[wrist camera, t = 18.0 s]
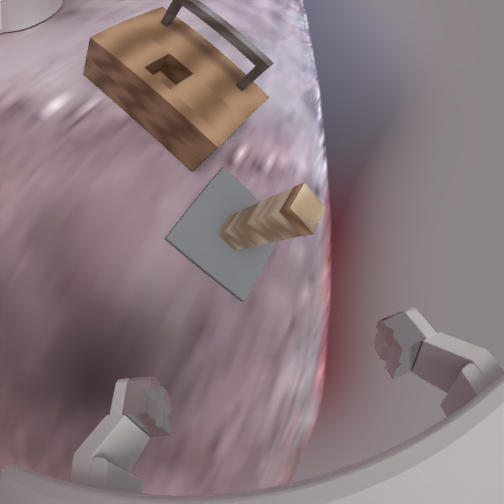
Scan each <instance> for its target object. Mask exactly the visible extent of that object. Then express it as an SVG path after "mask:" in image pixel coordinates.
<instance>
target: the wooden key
mask: <svg viewBox="0 0 504 504" xmlns="http://www.w3.org/2000/svg"><path fill="white" fill-rule="evenodd" d="M325 209H326V207H325V206H324V205H323V204H322V203H321V201H320V200H319V199H318V198H317V197H316V196H315V194H314V193H313V192H312V191H311V190H310V189H309V187H308V186H307V185H306V184H305V183H302V184H300V185H297V186H295V187H294V188H292V189H290V190H287V191H285V192H282V193H280V194H278V195H275V196H273V197H271V198H268V199H266V200H264V201H261V202H259V203H257V204H254V205H252V206H250V207H247V208H245V209H243V210H241V211H238V212H236V213H234V214H232V215H230V216H229V218H228V219H227V220H226V222H225V223H224V225H223V226H222V228H221V229H220V230H219V232H218V233H217V235H219V236H220V237H221V238H222V239H223V240H224V241H225V242H226V243H228V244H229V245H230V246H231V247H232V248H233V249H234V250H235V251H236V250H240V249H244V248H249V247H253V246H258V245H262V244H267V243H271V242H276V241H280V240H285V239H289V238H294V237H298V236H306V235H311V234H314V232H315V230H316V228H317V226H318V224H319V222H320V219H321V217H322V215H323V213H324V211H325Z"/></svg>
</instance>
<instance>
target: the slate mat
mask: <svg viewBox="0 0 504 504" xmlns="http://www.w3.org/2000/svg"><path fill="white" fill-rule="evenodd" d="M257 203H259V201H258V200H257V199H256V198H255V197H254V196H253V195H252V194H251V193H250V192H249V191H248V190H247V189H246V188H245V187H244V186H243V185H242V184H241V183H240V182H239V181H238V180H237V179H236V178H235V177H234V176H233V175H232V174H231V173H230V172H229V171H228V170H227V169H226V168H224V167H223V168H222V169H221V170H220V171H219V172H218V173H217V175H216V176H215V177H214V178H213V179H212V180H211V182H210V183H209V184H208V185H207V186H206V188H205V189H204V190H203V191H202V192H201V194H200V195H199V196H198V197H197V199H196V200H195V201H194V202H193V204H192V205H191V206H190V207H189V209H188V210H187V211H186V212H185V214H184V215H183V216H182V217H181V219H180V220H179V221H178V223H177V224H176V225H175V226H174V228H173V229H172V230H171V232H170V233H169V234H168V236H167V237H166V238H165V239H166V240H167V241H168V242H169V243H170V244H171V245H173V246H174V247H175V248H176V249H177V250H179V251H180V252H181V253H182V254H183V255H185V256H186V257H187V258H188V259H189V260H191V261H192V262H193V263H194V264H196V265H197V266H198V267H199V268H200V269H202V270H203V271H204V272H205V273H207V274H208V275H209V276H210V277H212V278H213V279H214V280H215V281H217V282H218V283H219V284H220V285H222V286H223V287H224V288H225V289H227V290H228V291H229V292H230V293H232V294H233V295H234V296H236V297H237V298H238V299H239V300H241V301H244V300H245V298H246V297H247V295H248V293H249V291H250V290H251V288H252V286H253V284H254V283H255V281H256V279H257V277H258V276H259V274H260V272H261V270H262V269H263V267H264V265H265V263H266V262H267V260H268V258H269V256H270V255H271V253H272V251H273V249H274V247H275V246H276V244H277V242H278V241H276V242H271V243H267V244H262V245H258V246H253V247H249V248H244V249H240V250H236V251H235V250H234V249H233V248H232V247H231V246H230V245H229V244H228V243H226V242H225V241H224V240H223V239H222V238H221V237H220V236H219V235H217V233H218V232H219V230H220V229H221V228H222V226H223V225H224V223H225V222H226V220H227V219H228V218H229V216H230V215H232V214H234V213H236V212H238V211H241V210H243V209H245V208H247V207H250V206H252V205H254V204H257Z"/></svg>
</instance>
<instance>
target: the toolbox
mask: <svg viewBox="0 0 504 504" xmlns="http://www.w3.org/2000/svg"><path fill="white" fill-rule="evenodd" d="M182 6H184V7H185V8H186V9H188V10H189V11H191V12H192V13H193V14H195V15H196V16H197V17H199V18H200V19H201V20H203V21H204V22H205V23H207V24H208V25H209V26H210V27H212V28H213V29H214V30H215V31H217V32H218V33H219V34H220V35H221V36H223V37H224V38H225V39H226V40H227V41H229V42H230V43H231V44H232V45H233V46H234V47H236V48H237V49H238V50H239V51H240V52H241V53H242V54H243V55H245V56H246V57H247V58H248V59H249V60H250V61H251V62H252V63H253V64H254V65H255V66H256V67H254V68H253V69H252V70H251V71H250V72H249V73H248V74H247V75H246V74H245V73H244V72H243V71H242V70H240V69H239V68H238V67H237V66H236V65H235V64H234V63H233V62H232V61H231V60H229V59H228V58H227V57H226V56H225V55H224V54H223V53H221V52H220V51H219V50H218V49H217V48H216V47H214V46H213V45H212V44H211V43H210V42H208V41H207V40H206V39H205V38H203V37H202V36H201V35H200V34H198V33H197V32H196V31H195V30H193V29H192V28H191V27H190V26H188V25H187V24H186V23H184V22H183V21H182V20H180V19H179V18H177V17H176V15H177V13H178V12H179V10H180V9H181V7H182ZM272 64H273V62H272V61H271V60H270V59H269V58H268V57H267V56H266V55H265V54H263V53H262V52H261V51H260V50H259V49H258V48H257V47H256V46H255V45H254V44H252V43H251V42H250V41H249V40H248V39H247V38H246V37H245V36H243V35H242V34H241V33H240V32H239V31H237V30H236V29H235V28H234V27H233V26H231V25H230V24H229V23H228V22H227V21H225V20H224V19H223V18H221V17H220V16H219V15H218V14H216V13H215V12H214V11H212V10H211V9H210V8H208V7H207V6H206V5H204V4H203V3H201V2H200V1H199V0H173V1H172V3H171V4H170V6H169V8H168V10H166V9H165V8H163V7H161V8H158V9H155V10H152V11H150V12H147V13H144V14H141V15H139V16H136V17H134V18H131V19H129V20H126V21H124V22H122V23H119V24H117V25H115V26H113V27H111V28H109V29H106V30H104V31H102V32H100V33H98V34H96V35H94V36H92V37H91V38H90V41H89V46H88V51H87V56H86V62H85V68H84V75H85V76H86V77H87V78H88V79H89V80H90V81H92V82H93V83H94V84H95V85H96V86H97V87H98V88H100V89H101V90H102V91H103V92H104V93H105V94H106V95H108V96H109V97H110V98H111V99H112V100H113V101H114V102H115V103H117V104H118V105H119V106H120V107H121V108H122V109H123V110H125V111H126V112H127V113H128V114H129V115H130V116H131V117H132V118H133V119H135V120H136V121H137V122H138V123H139V124H140V125H141V126H142V127H143V128H145V129H146V130H147V131H148V132H149V133H150V134H151V135H152V136H153V137H155V138H156V139H157V140H158V141H159V142H160V143H161V144H162V145H163V146H164V147H166V148H167V149H168V150H169V151H170V152H171V153H172V154H173V155H174V156H175V157H177V158H178V159H179V160H180V161H181V162H182V163H183V164H184V165H185V166H186V167H187V168H188V169H190V170H191V171H193V170H194V169H195V168H196V167H197V166H198V165H200V164H201V163H202V162H203V161H204V160H205V159H206V158H207V157H208V156H209V155H210V154H212V153H213V152H214V151H215V150H216V149H217V148H218V147H219V146H220V145H221V144H222V143H223V142H224V141H225V140H226V139H227V138H228V137H229V136H230V135H231V134H232V133H233V132H234V131H235V130H236V129H237V128H238V127H239V126H240V125H241V124H242V123H243V122H244V121H245V120H246V119H247V118H248V117H249V116H250V115H251V114H252V113H253V112H254V111H256V110H257V109H258V108H259V107H260V106H261V105H262V104H263V103H264V102H265V101H266V100H267V99H268V98H269V97H268V96H267V95H266V94H265V93H264V92H263V91H262V90H261V89H260V88H259V87H258V86H257V85H256V84H255V83H254V82H253V81H254V80H255V79H256V78H257V77H259V76H260V75H261V74H262V73H263V72H264V71H265V70H266V69H268V68H269V67H270V66H271V65H272Z"/></svg>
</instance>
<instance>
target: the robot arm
mask: <svg viewBox="0 0 504 504" xmlns="http://www.w3.org/2000/svg"><path fill="white" fill-rule="evenodd" d="M62 4H63V0H0V33H3V32H12V31H18V30H22V29H26V28H29V27H31V26H34V25H36V24H38V23H40V22H42V21H44V20H46V19H48V18H49V17H51V16H52V15H53V14H55V13H56V12H57V11H58V10H59V9H60V8H61V6H62ZM376 328H377V330H378V332H377V334H376V335H375V339H374V344H375V349H376V352H377V354H378V356H379V357H380V358H381V359H383V360H385V361H386V365H385V367H386V369H387V371H388V372H389V374H390V376H391V377H392V379H395V378H397V377H400V376H402V375H404V374H406V373H409V372H411V371H412V373H413V374H415V375H417V376H419V377H420V378H422V379H424V380H425V381H427V382H429V383H431V384H432V385H434V386H436V387H438V388H439V389H441V390H443V391H445V392H446V393H447V394H446V396H445V397H444V399H443V400H442V402H441V405H440V406H441V408H442V409H443V411H444V413H445V415H446V416H447V417H446V418H444V419H443V420H441V421H440V422H438V423H436V424H435V425H433V426H431V427H430V428H428V429H426V430H425V431H423V432H421V433H419V434H417V435H416V436H414V437H412V438H410V439H408V440H406V441H404V442H402V443H400V444H398V445H396V446H394V447H392V448H390V449H388V450H386V451H384V452H381V453H379V454H377V455H374V456H372V457H370V458H367V459H365V460H362V461H360V462H357V463H355V464H352V465H349V466H346V467H343V468H341V469H338V470H335V471H332V472H328V473H326V474H322V475H319V476H315V477H312V478H308V479H304V480H301V481H296V482H292V483H288V484H283V485H278V486H273V487H268V488H263V489H257V490H250V491H243V492H234V493H225V494H212V495H188V496H172V495H149V494H142V480H141V479H140V478H138V477H137V476H135V475H133V474H131V473H130V472H131V470H132V469H133V467H134V465H135V464H136V462H137V460H138V458H139V457H140V455H141V453H142V452H143V450H144V448H145V447H146V445H147V443H148V442H149V440H150V438H151V437H152V436H166V435H170V431H171V420H170V419H169V417H168V416H167V415H168V414H169V412H170V411H171V400H170V396H169V394H168V392H167V390H166V389H165V388H164V387H162V386H159V383H160V381H159V380H158V379H157V377H156V376H151V377H140V378H127V379H118V381H117V382H116V385H115V390H114V394H113V399H112V405H111V410H110V415H106V416H105V417H104V419H103V420H102V421H101V422H100V423H99V424H98V426H97V427H96V428H95V429H94V430H93V432H92V433H91V434H90V435H89V436H88V437H87V439H86V440H85V441H84V442H83V443H82V445H81V446H80V447H79V448H78V449H77V451H76V452H75V453H74V458H73V464H72V471H71V478H70V482H68V481H64V480H60V479H57V478H53V477H50V476H47V475H44V474H41V473H38V472H35V471H32V470H29V469H27V468H24V467H21V466H19V465H16V464H8V465H7V466H5V467H4V468H3V469H2V471H1V472H0V504H504V371H503V369H502V368H501V367H500V365H499V364H498V363H497V362H496V360H495V359H494V358H493V357H492V356H491V354H490V353H489V352H488V351H487V350H486V349H483V348H480V347H477V346H475V345H472V344H470V343H467V342H464V341H462V340H459V339H456V338H454V337H451V336H448V335H446V334H443V333H441V332H439V333H436V332H435V331H434V329H433V328H432V327H431V326H430V325H429V324H428V322H427V321H426V320H425V319H424V318H423V317H422V315H421V314H420V313H419V312H418V311H417V310H416V309H415V308H414V307H410V308H408V309H405V310H403V311H401V312H398V313H395V314H393V315H390V316H388V317H385V318H383V319H381V320H379V321H378V322H377V326H376Z"/></svg>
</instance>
